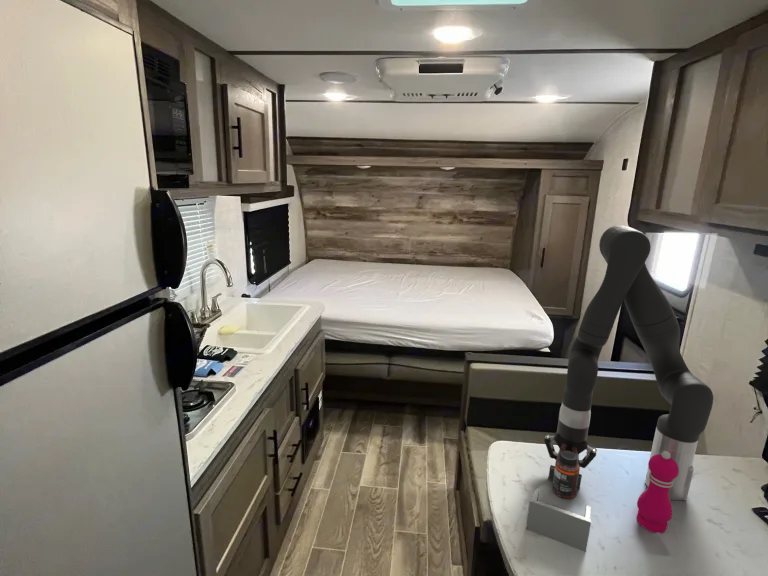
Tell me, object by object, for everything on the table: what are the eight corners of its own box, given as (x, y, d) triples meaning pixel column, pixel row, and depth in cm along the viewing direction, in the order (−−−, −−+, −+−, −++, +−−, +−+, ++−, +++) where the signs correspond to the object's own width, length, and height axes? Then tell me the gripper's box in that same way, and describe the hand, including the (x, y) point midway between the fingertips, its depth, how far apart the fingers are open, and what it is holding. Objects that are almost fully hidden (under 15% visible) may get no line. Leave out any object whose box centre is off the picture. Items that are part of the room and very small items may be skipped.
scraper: (582, 472, 121) (585, 454, 120) (579, 489, 115) (582, 470, 114) (552, 463, 125) (554, 445, 124) (548, 478, 119) (550, 460, 117)
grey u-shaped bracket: (588, 518, 105) (593, 491, 103) (585, 551, 96) (590, 522, 94) (533, 499, 111) (537, 473, 109) (525, 529, 102) (529, 500, 100)
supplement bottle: (571, 484, 117) (577, 448, 114) (579, 500, 111) (585, 463, 108) (549, 482, 117) (554, 447, 114) (555, 498, 112) (560, 461, 109)
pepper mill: (639, 507, 109) (653, 438, 104) (672, 523, 104) (688, 452, 99) (630, 522, 104) (644, 451, 99) (664, 540, 99) (681, 466, 94)
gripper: (603, 420, 115) (594, 475, 120) (548, 406, 122) (541, 458, 126) (602, 434, 109) (592, 491, 113) (544, 418, 115) (537, 473, 120)
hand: (565, 473), depth 120 cm, fingers closed on scraper, 3 cm apart
